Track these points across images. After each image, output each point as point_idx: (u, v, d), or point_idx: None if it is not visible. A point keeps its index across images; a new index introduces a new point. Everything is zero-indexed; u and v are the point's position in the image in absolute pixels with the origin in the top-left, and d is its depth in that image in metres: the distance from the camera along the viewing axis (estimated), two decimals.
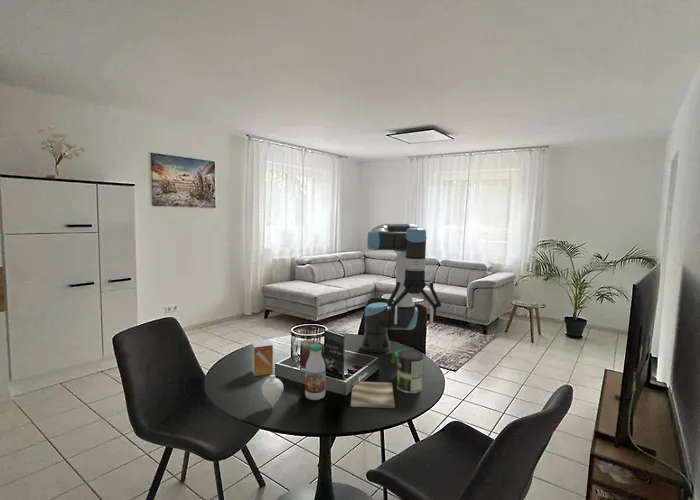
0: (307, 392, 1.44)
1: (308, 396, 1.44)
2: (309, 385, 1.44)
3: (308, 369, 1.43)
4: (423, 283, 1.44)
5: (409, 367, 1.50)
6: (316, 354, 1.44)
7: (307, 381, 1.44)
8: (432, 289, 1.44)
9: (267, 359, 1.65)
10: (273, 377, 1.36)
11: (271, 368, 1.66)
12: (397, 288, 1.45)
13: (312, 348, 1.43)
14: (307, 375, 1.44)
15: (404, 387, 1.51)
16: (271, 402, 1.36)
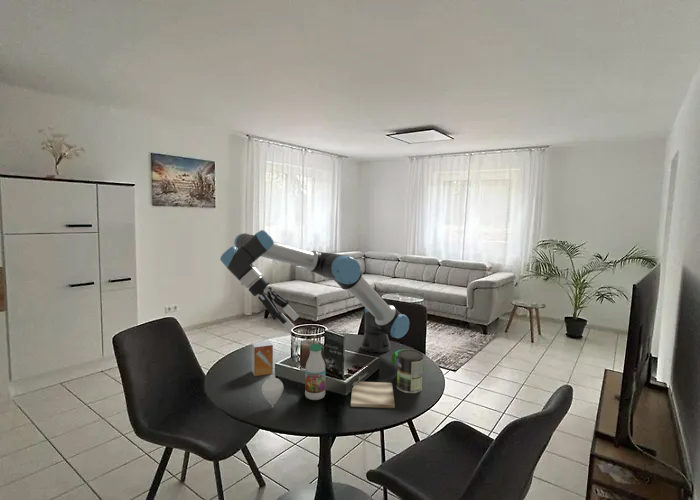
0: (307, 392, 1.44)
1: (308, 396, 1.44)
2: (309, 385, 1.44)
3: (308, 369, 1.43)
4: None
5: (409, 367, 1.50)
6: (316, 354, 1.44)
7: (307, 381, 1.44)
8: None
9: (267, 359, 1.65)
10: (273, 377, 1.36)
11: (271, 368, 1.66)
12: None
13: (312, 348, 1.43)
14: (307, 375, 1.44)
15: (404, 387, 1.51)
16: (271, 402, 1.36)
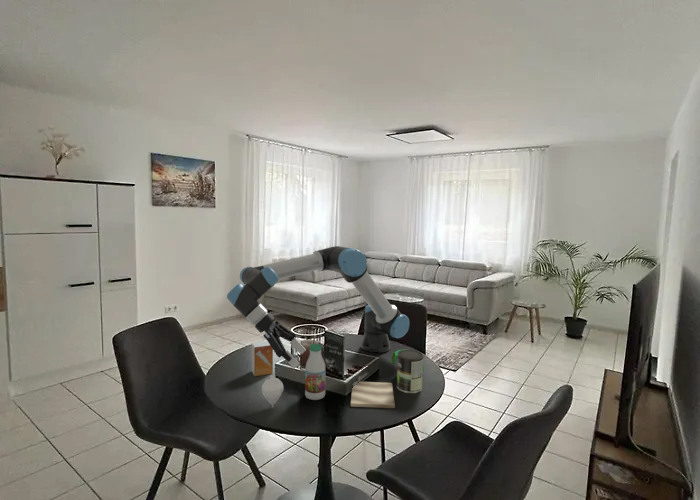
0: (307, 392, 1.44)
1: (308, 396, 1.44)
2: (309, 385, 1.44)
3: (308, 369, 1.43)
4: None
5: (409, 367, 1.50)
6: (316, 354, 1.44)
7: (307, 381, 1.44)
8: None
9: (267, 359, 1.65)
10: (273, 377, 1.36)
11: (271, 368, 1.66)
12: None
13: (312, 348, 1.43)
14: (307, 375, 1.44)
15: (404, 387, 1.51)
16: (271, 402, 1.36)
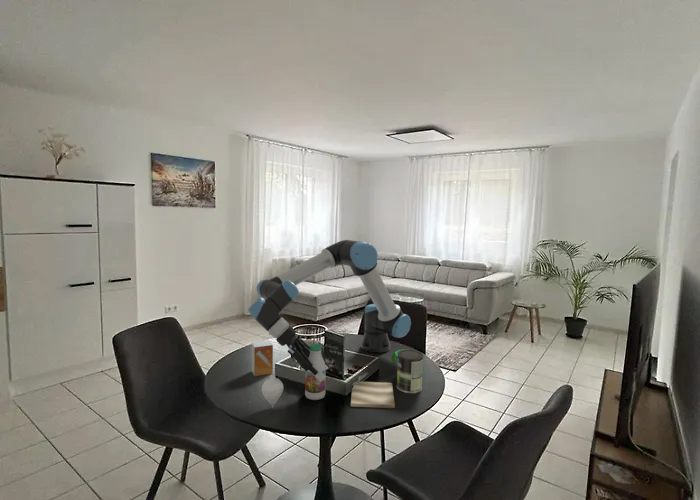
0: (307, 392, 1.44)
1: (308, 396, 1.44)
2: (309, 385, 1.44)
3: None
4: None
5: (409, 367, 1.50)
6: (317, 354, 1.44)
7: (307, 381, 1.44)
8: None
9: (267, 359, 1.65)
10: (273, 377, 1.36)
11: (271, 368, 1.66)
12: None
13: (312, 348, 1.43)
14: (307, 375, 1.44)
15: (404, 387, 1.51)
16: (271, 402, 1.36)
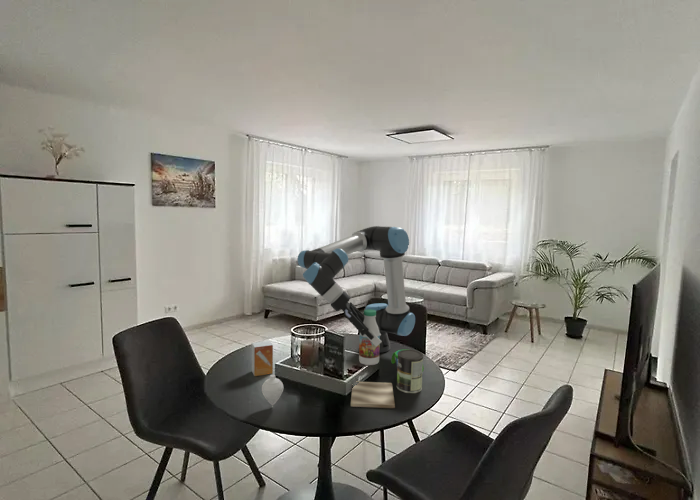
0: (362, 357, 1.44)
1: (363, 361, 1.43)
2: (364, 350, 1.43)
3: None
4: (343, 311, 1.42)
5: (409, 367, 1.50)
6: (371, 319, 1.43)
7: (362, 346, 1.43)
8: None
9: (267, 359, 1.65)
10: (273, 377, 1.36)
11: (271, 368, 1.66)
12: None
13: (367, 313, 1.43)
14: (362, 340, 1.43)
15: (404, 387, 1.51)
16: (271, 402, 1.36)
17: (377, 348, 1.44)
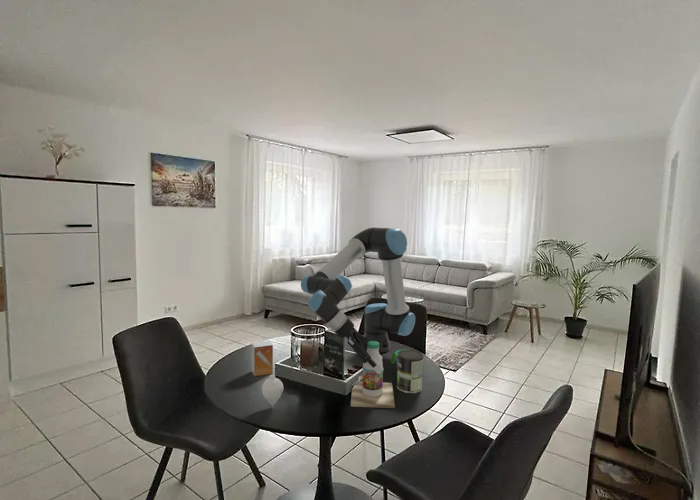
0: (365, 389, 1.45)
1: (366, 393, 1.45)
2: (367, 382, 1.44)
3: (367, 366, 1.44)
4: None
5: (409, 367, 1.50)
6: (375, 352, 1.44)
7: (365, 378, 1.45)
8: None
9: (267, 359, 1.65)
10: (273, 377, 1.36)
11: (271, 368, 1.66)
12: None
13: (370, 345, 1.44)
14: (365, 372, 1.44)
15: (404, 387, 1.51)
16: (271, 402, 1.36)
17: (380, 380, 1.45)
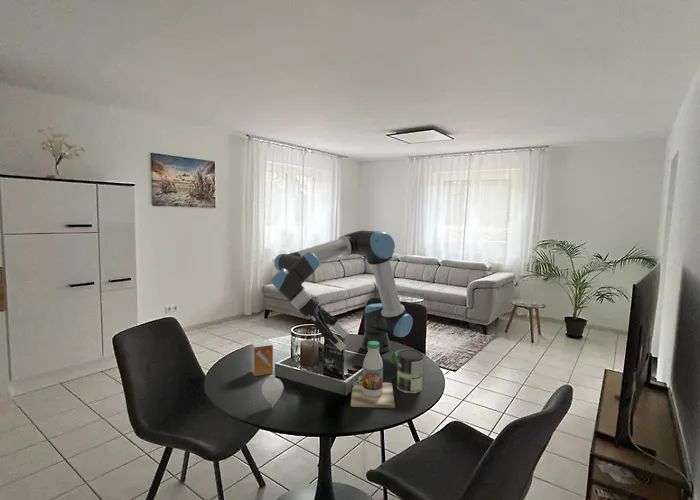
0: (365, 389, 1.45)
1: (366, 393, 1.45)
2: (368, 382, 1.44)
3: (367, 366, 1.44)
4: None
5: (409, 367, 1.50)
6: (375, 352, 1.44)
7: (365, 378, 1.45)
8: None
9: (267, 359, 1.65)
10: (273, 377, 1.36)
11: (271, 368, 1.66)
12: None
13: (371, 345, 1.44)
14: (365, 372, 1.44)
15: (404, 387, 1.51)
16: (271, 402, 1.36)
17: (380, 380, 1.45)
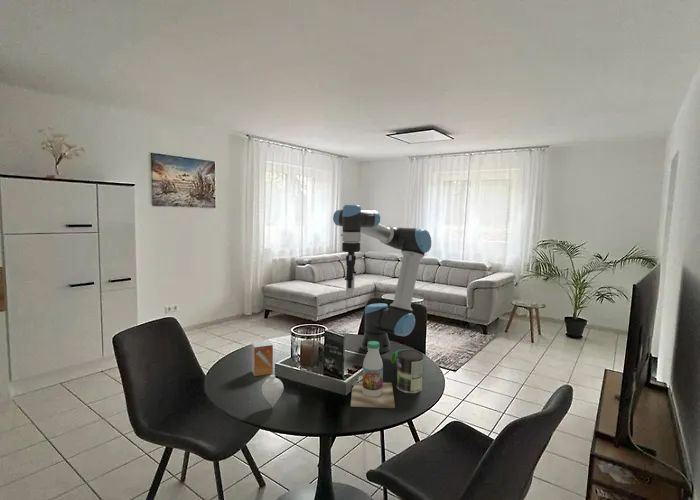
0: (365, 389, 1.45)
1: (366, 393, 1.45)
2: (367, 382, 1.44)
3: (367, 366, 1.44)
4: (348, 255, 1.57)
5: (409, 367, 1.50)
6: (375, 352, 1.44)
7: (365, 378, 1.45)
8: (347, 261, 1.54)
9: (267, 359, 1.65)
10: (273, 377, 1.36)
11: (271, 368, 1.66)
12: None
13: (371, 345, 1.44)
14: (365, 372, 1.44)
15: (404, 387, 1.51)
16: (271, 402, 1.36)
17: (380, 380, 1.45)
